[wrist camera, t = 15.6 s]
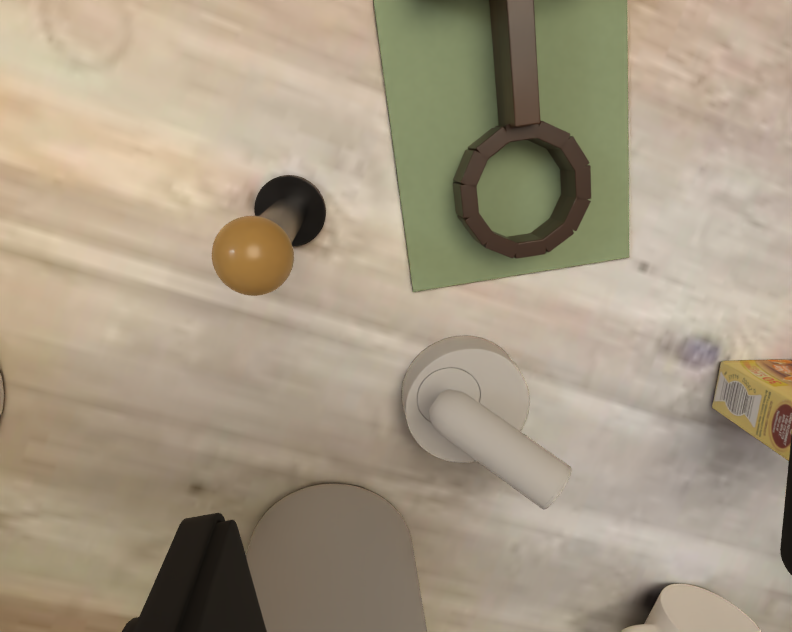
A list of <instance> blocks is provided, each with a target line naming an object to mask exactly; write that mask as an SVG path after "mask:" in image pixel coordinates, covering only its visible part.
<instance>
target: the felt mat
mask: <svg viewBox="0 0 792 632" xmlns="http://www.w3.org/2000/svg"><path fill="white" fill-rule="evenodd" d="M373 2H374V10H375V17H376V24H377V32H378V39H379V46H380V54H381V61H382V68H383V76H384V83H385V90H386V98H387V105H388V112H389V120H390V127H391V134H392V142H393V149H394V156H395V164H396V171H397V178H398V186H399V193H400V200H401V208H402V215H403V222H404V230H405V237H406V244H407V252H408V259H409V266H410V274H411V281H412V288H413V292H416V291H422V290H429V289H435V288H441V287H447V286H454V285H460V284H466V283H472V282H479V281H485V280H491V279H497V278H504V277H510V276H516V275H522V274H529V273H535V272H541V271H547V270H554V269H560V268H566V267H572V266H579V265H585V264H591V263H597V262H604V261H610V260H616V259H622V258H629V167H628V43H627V0H534V11H535V30H536V48H537V66H538V85H539V103H540V121H544V122H546V123H548V124H551V125H553V126H555V127H557V128H559V129H561V130H564V131H566V132H568V133H570V136H573V137H574V138H575V140H576V142H577V143H578V145H579V146H580V148H581V150H582V151H583V153H584V154H585V156H586V158H587V159H588V161H589V164H588V165H590V166H591V199H588V200H590V201H591V202H590V204H589V207H588V209H587V211H586V213H585V215H584V217H583V219H582V221H581V223H580V225H579V227H578V229H577V231H574V230H573V232H574V234H573V235H572V236H570V237H569V238H568V239H566V240H565V241H564V242H562V243H561V244H560V245H558V246H557V247H556V248H554V249H553V250H552V251H550V252H549V253H548V252H546V254H543V255H537V256H531V257H524V258H518V259H516V258H513V259H512V258H510V257H507V256H505V255H502V254H500V253H497V252H495V251H492V250H490V249H487V248H485V247H484V246H482V245H481V244H480V243H478V242H477V241H476V240H475V239H473V237H472V236H471V235H470V233H469V232H468V231H467V229H466V228H465V227H464V225H463V224H462V222H461V221H460V220H459V218H458V217H457V215H458V214H456V211H455V201H454V192H453V182H456V181H454V180H453V178H454V176H455V174H456V171H457V169H458V166H459V164H460V162H461V159H462V157H463V154H464V152H465V150H468V147H469V146H470V145H471V144H472V143H474V142H475V141H476V140H477V139H479V138H480V137H481V136H482V135H484V134H485V133H486V132H487V131H489V130H490V129H491V128H494V127H495V126H499V122H498V109H497V96H496V83H495V70H494V57H493V44H492V31H491V18H490V5H489V0H373ZM477 196H478V207H479V213H480V215H481V216H482V218H483V219H484V220H485V222H486V223H487V225H488V226H489V227H490V229H491V230H492V231H494V232H496V233H499V234H501V235H503V236H506V237H509V236H515V235H521V234H528V233H531V232H532V231H534V230H535V229H536V228H538V227H539V226H540V225H542V224H543V223H544V222H545V221H547V220H548V219H549V218H550V217H551V215H552V212H553V210H554V208H555V206H556V204H557V202H558V200H559V198H560V196H561V181H560V169H559V167H558V166H557V164H556V162H555V161H554V159H553V158H552V156H551V155H550V153H549V152H548V150H547V149H546V148H544V147H542V146H539V145H537V144H535V143H533V142H531V141H528V140H522V141H515V142H509V143H508V144H507V145H506V146H504V147H503V148H502V149H501V150H499V151H498V152H497V153H496V154H494V155H493V156H492V157H491V158H489V159H488V161H487V163H486V165H485V168H484V170H483V172H482V175H481V177H480V179H479V182H478V184H477Z"/></svg>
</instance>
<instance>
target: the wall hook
mask: <svg viewBox="0 0 792 632" xmlns="http://www.w3.org/2000/svg"><path fill="white" fill-rule="evenodd" d="M402 403H403V407H404V412H405V416H406V421H407V425H408V428H409V430H410V432H411V434H412V436H413V437H414V439H415V440H416V442H417V443H418V444H419V445H420V446H421V447H422V448H423V449H424V450H425V451H427V452H428V453H430V454H431V455H433V456H435V457H437V458H440V459H443V460H446V461H451V462H459V463H466V462H475V461H477V462H479V463H480V464H481V465H483V466H484V467H486V468H487V469H488V470H490V471H491V472H492V473H494V474H495V475H497V476H498V477H499V478H501V479H502V480H503V481H505V482H506V483H508V484H509V485H510V486H512V487H513V488H514V489H516V490H517V491H519V492H520V493H521V494H523V495H524V496H525V497H527V498H528V499H529V500H531V501H532V502H534V503H535V504H536V505H538V506H539V507H540V508H542V509H546V508H548V507H549V506H550V505H551V504H552V503H553V502H554V501H555V500H556V499H557V497H558V496H559V495H560V493H561V492H562V490H563V489H564V487H565V485H566V483H567V481H568V479H569V477H570V474H571V467H570V466H568V465H567V464H566V463H564V462H563V461H561V460H560V459H559V458H557V457H556V456H554V455H553V454H551V453H550V452H549V451H547V450H546V449H544V448H543V447H542V446H540V445H539V444H537V443H536V442H534V441H533V440H532V439H530V438H529V437H527V436H526V435H525V434H523V433H522V432H520V431H521V430H522V428H523V426H524V424H525V422H526V419H527V416H528V412H529V405H530V397H529V390H528V386H527V383H526V381H525V378H524V377H523V375H522V373H521V372H520V370H519V369H518V368H517V366H516V365H515V364H514V362H513V361H512V360H511V358H510V357H509V356H508V355H507V353H506V352H505V351H504V350H502V349H501V348H500V347H499V346H497V345H496V344H494V343H492V342H490V341H488V340H486V339H483V338H479V337H474V336H455V337H450V338H446V339H443V340H441V341H438V342H436V343H434V344H432V345H431V346H429V347H428V348H426V349H425V350H424V351H422V352H421V353H420V354H419V355H418V356H417V357H416V358H415V360H414V361H413V362H412V364H411V365H410V367H409V368H408V370H407V372H406V375H405V378H404V381H403V385H402Z"/></svg>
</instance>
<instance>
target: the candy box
mask: <svg viewBox="0 0 792 632" xmlns="http://www.w3.org/2000/svg"><path fill="white" fill-rule="evenodd" d="M712 408H713V409H715V410H716V411H718V412H719V413H721V414H722V415H723V416H725V417H726V418H728V419H729V420H730V421H732V422H733V423H735V424H736V425H738V426H739V427H740V428H742V429H743V430H745V431H746V432H748V433H749V434H750V435H752V436H753V437H755V438H756V439H758V440H759V441H761V442H762V443H764V444H765V445H766V446H768V447H769V448H771V449H772V450H774V451H775V452H776V453H778V454H779V455H781V456H782V457H784V458H785V459H786V460H788V461H789V455H790V445H791V434H792V360H740V361H722V362H721V365H720V369H719V375H718V380H717V385H716V391H715V396H714V401H713V404H712Z"/></svg>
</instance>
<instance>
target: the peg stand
mask: <svg viewBox="0 0 792 632" xmlns="http://www.w3.org/2000/svg"><path fill="white" fill-rule="evenodd" d="M325 217H326V207H325V202H324V199H323V197H322V195H321V193H320V191H319V190H318V189H317V188H316V187H315V185H313V184H312V183H311V182H309V181H308V180H306V179H304V178H302V177H299V176H294V175H284V176H280V177H277V178H274V179H272V180H271V181H269V182H268V183H266V184H265V185H264V186H263V187H262V189H261V190H260V192H259V193H258V195H257V198H256V202H255V216H244V217H240V218H237V219H235V220H233V221H231V222H229V223H228V224H226V225H225V226H224V227H223V228H222V229H221V230H220V232H219V233H218V235H217V236H216V238H215V241H214V243H213V248H212V262H213V266H214V269H215V271H216V273H217V275H218V276H219V278H220V279H221V280H222V282H223V283H224V284H225V285H226V286H228V287H229V288H231V289H232V290H234V291H236V292H238V293H241V294H244V295H251V296H257V295H263V294H267V293H269V292H272V291H274V290H276V289H277V288H278V287H280V286H281V285H282V284H283V283H284V282H285V280H286V279H287V278H288V276H289V275H290V272H291V270H292V267H293V261H294V252H293V247H292V246H300V245H303V244H306V243H308V242H310V241H311V240H313V239H314V238H315V237H316V236H317V235H318V234H319V232H320V231H321V229H322V227H323V225H324V221H325Z"/></svg>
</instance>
